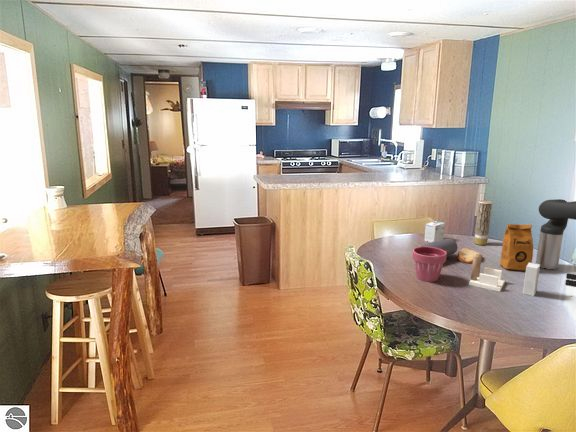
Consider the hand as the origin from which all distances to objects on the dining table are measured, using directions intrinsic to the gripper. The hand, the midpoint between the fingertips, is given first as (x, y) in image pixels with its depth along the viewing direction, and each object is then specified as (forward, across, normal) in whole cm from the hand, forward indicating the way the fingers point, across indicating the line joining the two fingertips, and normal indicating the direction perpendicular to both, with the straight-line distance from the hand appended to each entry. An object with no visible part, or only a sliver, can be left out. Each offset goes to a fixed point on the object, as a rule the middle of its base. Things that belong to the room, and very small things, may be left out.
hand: (566, 278), depth 157 cm
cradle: (+28, 0, +8) cm, 29 cm away
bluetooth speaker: (+54, -19, +8) cm, 58 cm away
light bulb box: (+66, -54, +8) cm, 86 cm away
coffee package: (+20, -29, +8) cm, 37 cm away
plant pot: (+50, +9, +8) cm, 52 cm away
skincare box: (+12, 0, +9) cm, 15 cm away
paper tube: (+42, -63, +8) cm, 77 cm away
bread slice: (+43, -33, +9) cm, 55 cm away
